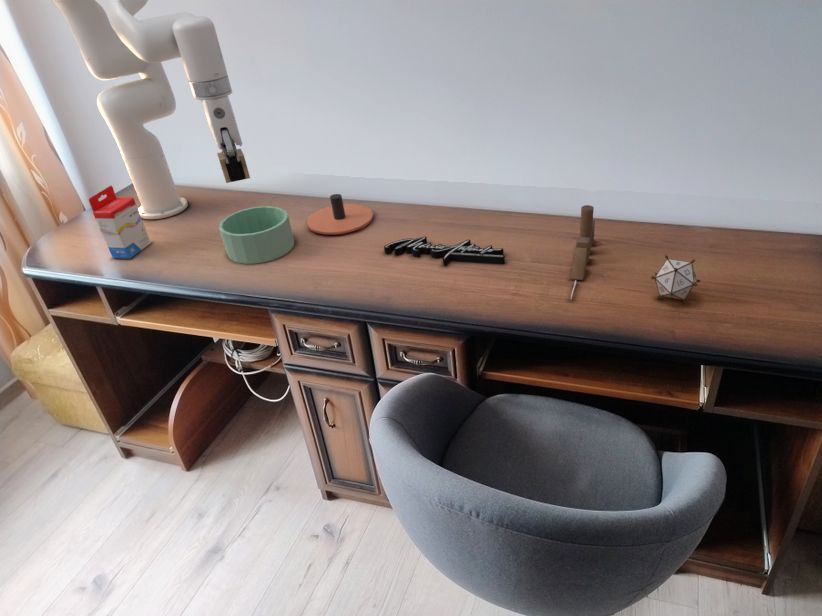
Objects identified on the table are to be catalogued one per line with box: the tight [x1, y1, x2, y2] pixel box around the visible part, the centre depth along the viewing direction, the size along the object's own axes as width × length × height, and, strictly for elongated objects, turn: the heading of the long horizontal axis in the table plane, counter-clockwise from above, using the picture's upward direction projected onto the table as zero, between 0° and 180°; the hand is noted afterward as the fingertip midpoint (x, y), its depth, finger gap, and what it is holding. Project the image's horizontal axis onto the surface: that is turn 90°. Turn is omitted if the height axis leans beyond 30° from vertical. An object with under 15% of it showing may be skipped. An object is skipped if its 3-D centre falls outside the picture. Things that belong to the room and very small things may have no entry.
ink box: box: [88, 185, 152, 260], centre depth 146 cm, size 8×5×15 cm, turn 168°
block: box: [216, 148, 251, 184], centre depth 135 cm, size 5×5×5 cm
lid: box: [306, 193, 374, 235], centre depth 154 cm, size 16×16×7 cm
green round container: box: [218, 205, 295, 265], centre depth 145 cm, size 15×15×7 cm
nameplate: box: [383, 236, 506, 267], centre depth 138 cm, size 27×2×10 cm
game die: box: [650, 254, 701, 305], centre depth 117 cm, size 9×8×10 cm
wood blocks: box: [570, 204, 596, 300], centre depth 127 cm, size 25×3×10 cm, turn 164°
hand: (236, 175), depth 136 cm, fingers closed on block, 5 cm apart
